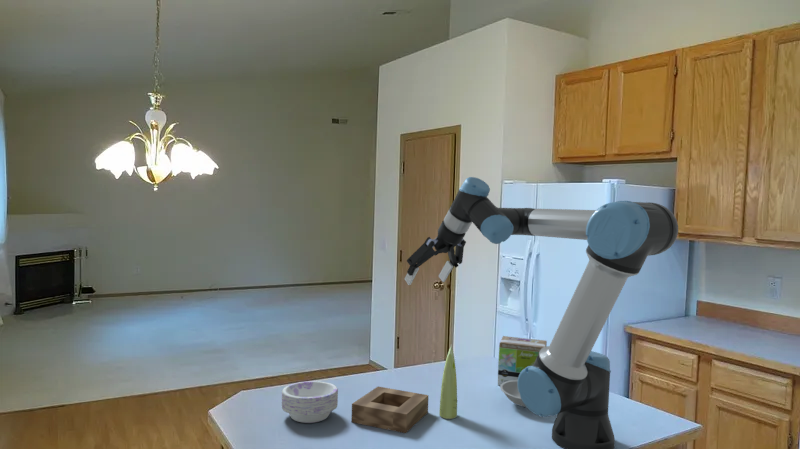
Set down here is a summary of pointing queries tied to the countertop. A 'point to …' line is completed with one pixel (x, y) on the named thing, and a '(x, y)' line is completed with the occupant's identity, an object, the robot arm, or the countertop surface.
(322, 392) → the paper bowls
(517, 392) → the dish
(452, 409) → the tube
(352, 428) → the countertop surface
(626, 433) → the countertop surface
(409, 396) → the socket block
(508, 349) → the tea box
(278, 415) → the countertop surface
